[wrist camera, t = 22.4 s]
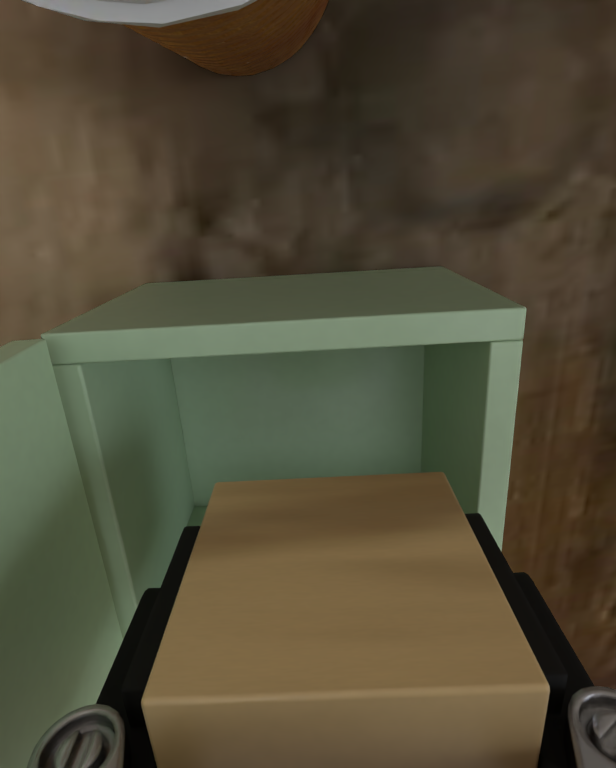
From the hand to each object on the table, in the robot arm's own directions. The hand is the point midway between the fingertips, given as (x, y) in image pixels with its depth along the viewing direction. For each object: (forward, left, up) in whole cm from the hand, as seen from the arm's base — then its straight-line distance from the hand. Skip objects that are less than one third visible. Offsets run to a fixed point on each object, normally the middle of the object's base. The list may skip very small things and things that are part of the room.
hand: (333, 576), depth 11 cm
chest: (+1, -1, -10) cm, 10 cm away
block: (0, 0, 0) cm, 0 cm away
